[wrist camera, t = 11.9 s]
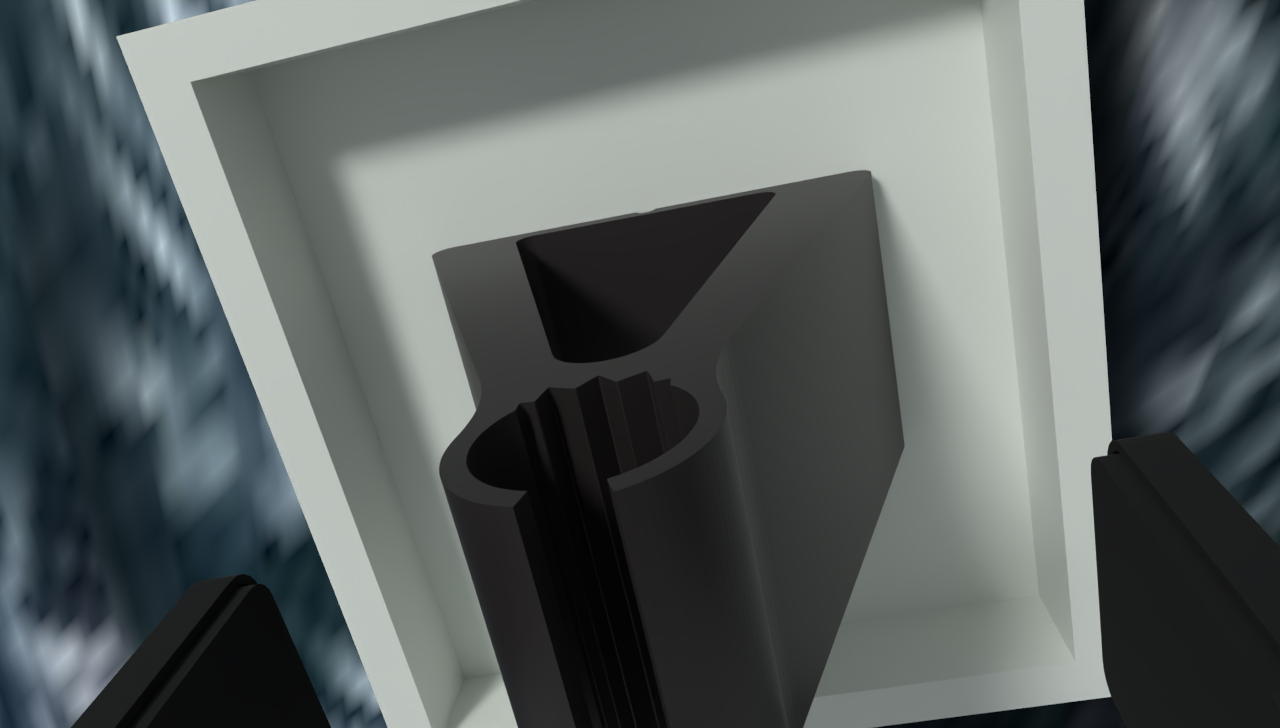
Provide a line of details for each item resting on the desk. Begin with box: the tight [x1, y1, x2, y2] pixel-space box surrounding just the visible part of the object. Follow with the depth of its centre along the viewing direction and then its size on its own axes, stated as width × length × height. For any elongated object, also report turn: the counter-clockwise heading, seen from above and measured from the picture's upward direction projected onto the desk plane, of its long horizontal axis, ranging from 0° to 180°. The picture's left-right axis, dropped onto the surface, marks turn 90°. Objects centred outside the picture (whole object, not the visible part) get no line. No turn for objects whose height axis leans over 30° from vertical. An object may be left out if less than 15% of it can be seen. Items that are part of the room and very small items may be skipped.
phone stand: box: [432, 170, 905, 728], centre depth 15 cm, size 9×6×12 cm, turn 101°
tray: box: [117, 0, 1112, 728], centre depth 20 cm, size 16×17×3 cm
